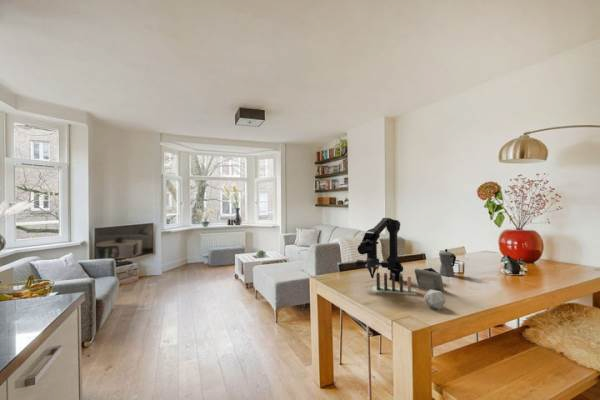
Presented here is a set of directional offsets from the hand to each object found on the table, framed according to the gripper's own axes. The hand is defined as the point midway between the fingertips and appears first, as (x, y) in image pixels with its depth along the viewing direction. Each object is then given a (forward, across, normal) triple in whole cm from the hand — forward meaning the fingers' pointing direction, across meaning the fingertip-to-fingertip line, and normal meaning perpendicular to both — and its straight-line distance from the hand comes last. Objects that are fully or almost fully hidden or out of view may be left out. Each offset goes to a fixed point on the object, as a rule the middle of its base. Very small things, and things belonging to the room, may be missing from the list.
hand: (372, 278), depth 163 cm
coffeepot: (+7, +48, +43) cm, 65 cm away
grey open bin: (+7, +33, +24) cm, 42 cm away
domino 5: (+6, +20, 0) cm, 21 cm away
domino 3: (+6, +12, 0) cm, 13 cm away
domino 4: (+6, +16, 0) cm, 17 cm away
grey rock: (+7, +31, -20) cm, 38 cm away
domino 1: (+6, +3, 0) cm, 7 cm away
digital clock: (+7, +32, +10) cm, 34 cm away
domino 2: (+6, +8, 0) cm, 10 cm away
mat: (+6, +12, 0) cm, 14 cm away
